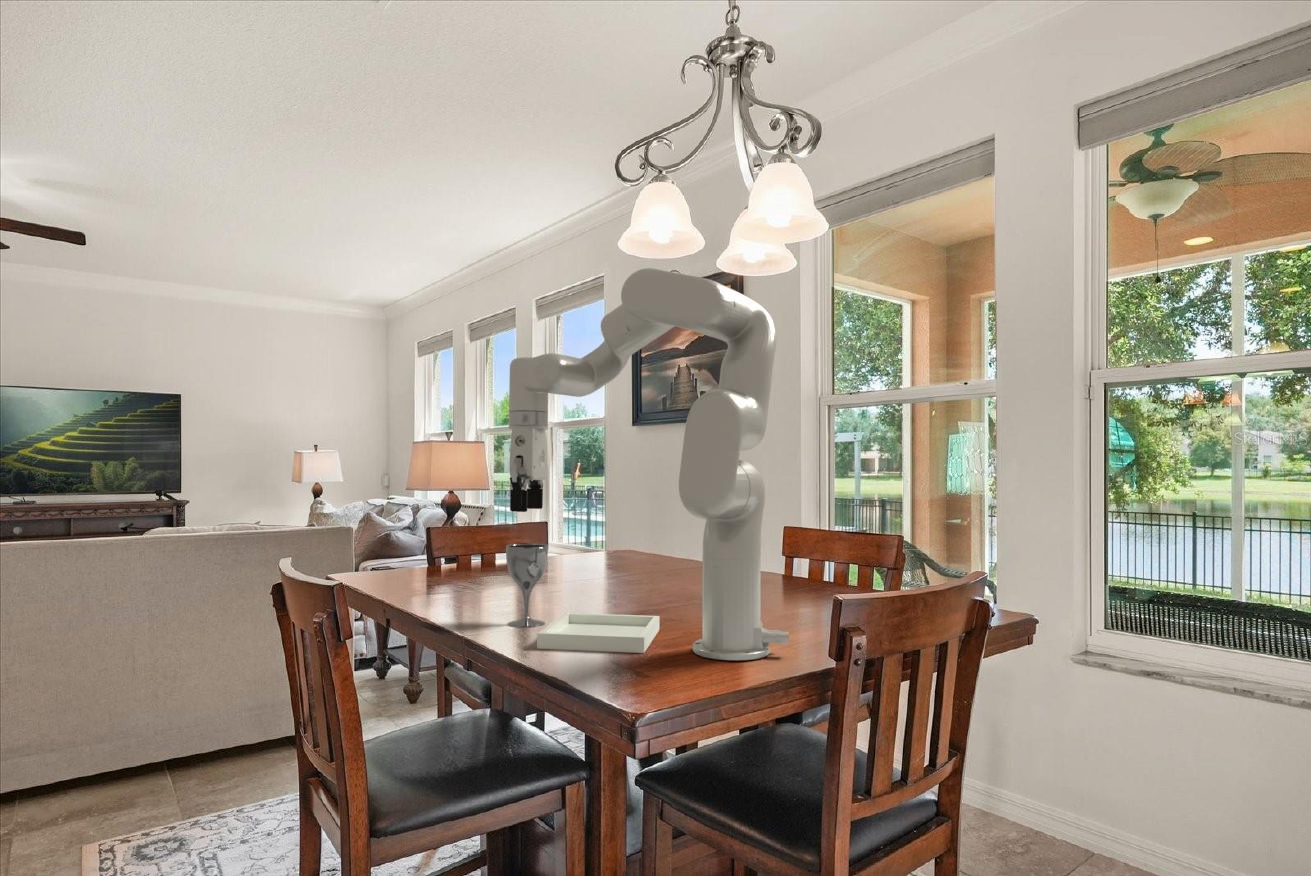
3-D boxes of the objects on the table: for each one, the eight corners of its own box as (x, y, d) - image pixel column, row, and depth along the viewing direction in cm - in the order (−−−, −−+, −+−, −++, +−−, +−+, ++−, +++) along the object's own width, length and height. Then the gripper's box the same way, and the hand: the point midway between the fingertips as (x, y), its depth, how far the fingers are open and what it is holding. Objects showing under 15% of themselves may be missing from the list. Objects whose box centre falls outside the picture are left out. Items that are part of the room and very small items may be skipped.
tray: (659, 629, 142) (659, 616, 142) (644, 653, 124) (644, 637, 124) (565, 626, 144) (565, 612, 144) (537, 648, 126) (537, 633, 127)
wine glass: (524, 617, 152) (524, 542, 152) (555, 622, 148) (556, 544, 148) (496, 624, 145) (497, 545, 146) (528, 629, 141) (529, 548, 142)
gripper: (533, 419, 139) (531, 513, 138) (559, 424, 156) (557, 508, 155) (494, 419, 140) (492, 512, 139) (523, 424, 157) (522, 507, 156)
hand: (526, 510), depth 147 cm, fingers open, 9 cm apart
